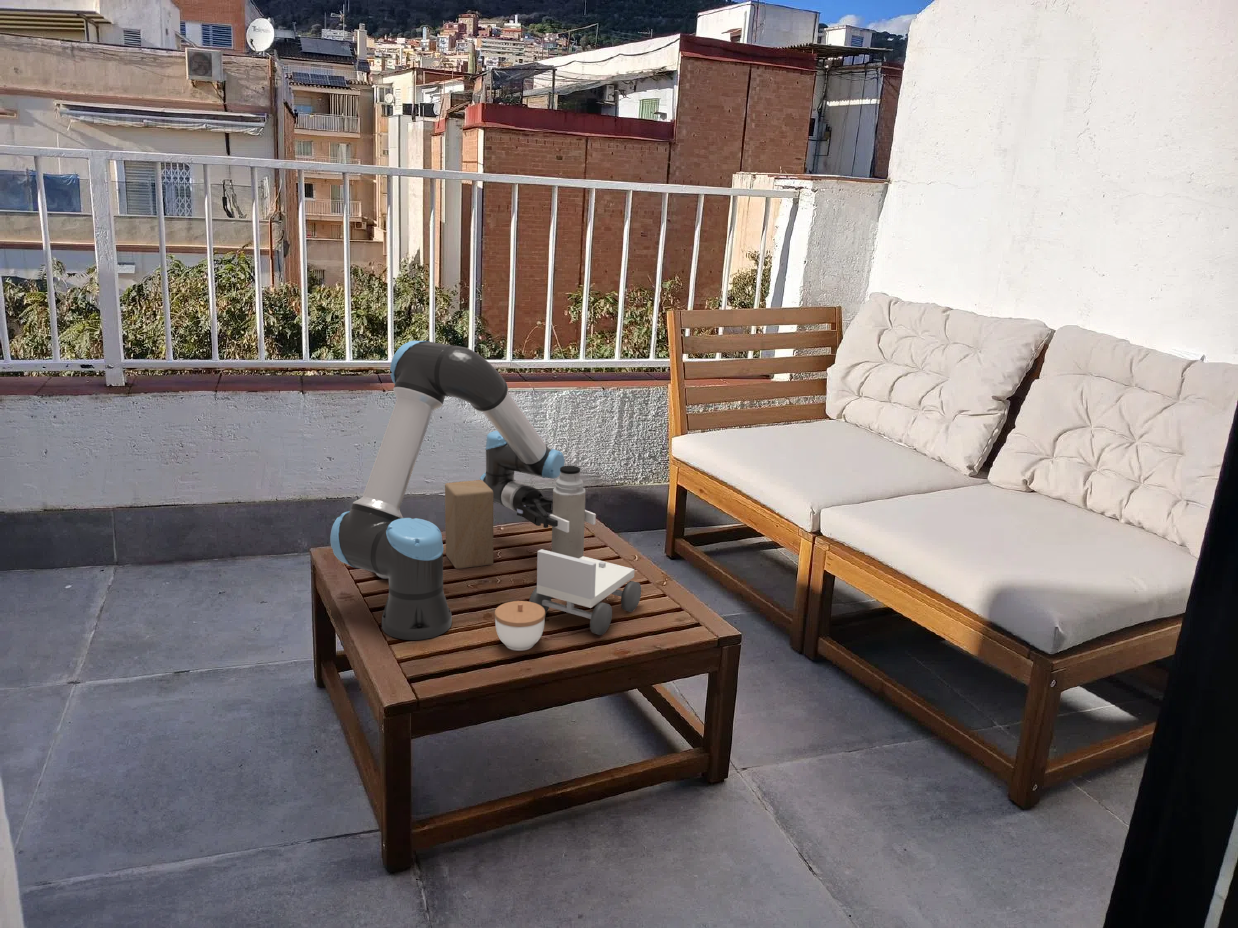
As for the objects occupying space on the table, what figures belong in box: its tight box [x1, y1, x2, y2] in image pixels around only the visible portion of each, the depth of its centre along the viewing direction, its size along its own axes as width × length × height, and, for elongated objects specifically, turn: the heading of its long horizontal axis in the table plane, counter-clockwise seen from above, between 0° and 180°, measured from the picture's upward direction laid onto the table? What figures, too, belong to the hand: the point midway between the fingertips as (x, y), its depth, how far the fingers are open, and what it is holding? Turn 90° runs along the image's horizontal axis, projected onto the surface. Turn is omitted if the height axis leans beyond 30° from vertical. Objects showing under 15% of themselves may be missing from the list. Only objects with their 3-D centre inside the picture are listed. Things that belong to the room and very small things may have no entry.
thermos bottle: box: [551, 465, 586, 559], centre depth 242 cm, size 8×8×28 cm
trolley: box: [528, 548, 642, 636], centre depth 223 cm, size 21×18×17 cm
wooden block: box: [444, 479, 494, 570], centre depth 250 cm, size 10×10×20 cm
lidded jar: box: [494, 600, 546, 652], centre depth 208 cm, size 11×11×9 cm
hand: (581, 523), depth 238 cm, fingers closed on thermos bottle, 8 cm apart
